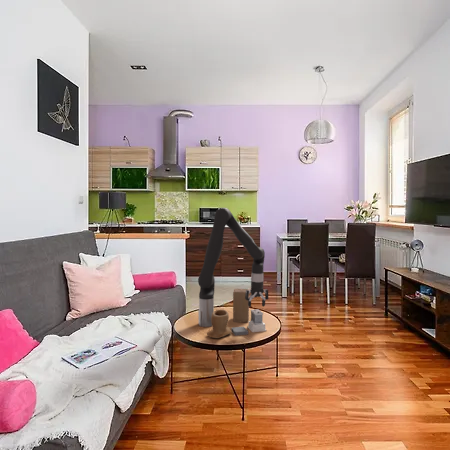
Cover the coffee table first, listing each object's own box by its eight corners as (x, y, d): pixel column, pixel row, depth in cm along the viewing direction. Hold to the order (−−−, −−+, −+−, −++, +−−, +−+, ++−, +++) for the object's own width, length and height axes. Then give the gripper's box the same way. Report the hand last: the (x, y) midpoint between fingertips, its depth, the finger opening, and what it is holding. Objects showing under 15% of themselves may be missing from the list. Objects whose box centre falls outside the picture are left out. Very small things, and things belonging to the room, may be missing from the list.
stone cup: (217, 342, 193) (217, 315, 193) (204, 336, 202) (204, 310, 201) (237, 335, 203) (237, 310, 202) (223, 330, 212) (223, 305, 211)
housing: (255, 325, 209) (255, 312, 209) (250, 320, 217) (250, 309, 216) (262, 324, 210) (263, 312, 210) (258, 320, 218) (258, 308, 218)
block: (248, 318, 236) (249, 288, 235) (248, 322, 226) (248, 292, 225) (234, 317, 236) (234, 288, 236) (232, 322, 227) (233, 291, 226)
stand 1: (235, 335, 203) (235, 332, 203) (231, 330, 211) (231, 327, 210) (248, 334, 205) (248, 330, 205) (243, 329, 213) (243, 326, 213)
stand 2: (252, 332, 208) (252, 325, 208) (247, 327, 217) (247, 320, 217) (266, 330, 211) (266, 324, 210) (261, 326, 219) (261, 319, 219)
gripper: (248, 282, 207) (247, 309, 208) (270, 281, 210) (269, 307, 211) (244, 279, 214) (243, 305, 215) (265, 278, 218) (265, 304, 218)
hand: (256, 306), depth 213 cm, fingers open, 8 cm apart
